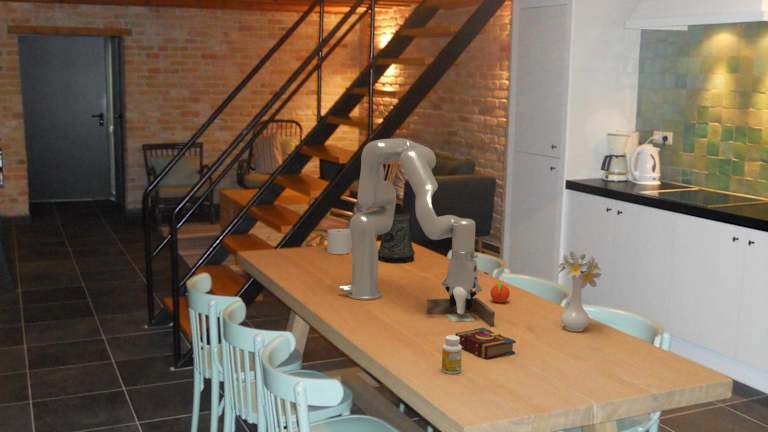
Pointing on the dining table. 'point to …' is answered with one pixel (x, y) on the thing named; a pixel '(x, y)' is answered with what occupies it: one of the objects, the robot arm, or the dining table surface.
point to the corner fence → (477, 307)
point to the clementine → (500, 293)
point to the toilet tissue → (339, 241)
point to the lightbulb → (460, 299)
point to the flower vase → (578, 289)
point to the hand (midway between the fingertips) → (460, 307)
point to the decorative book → (486, 343)
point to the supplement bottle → (451, 355)
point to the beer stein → (397, 239)
